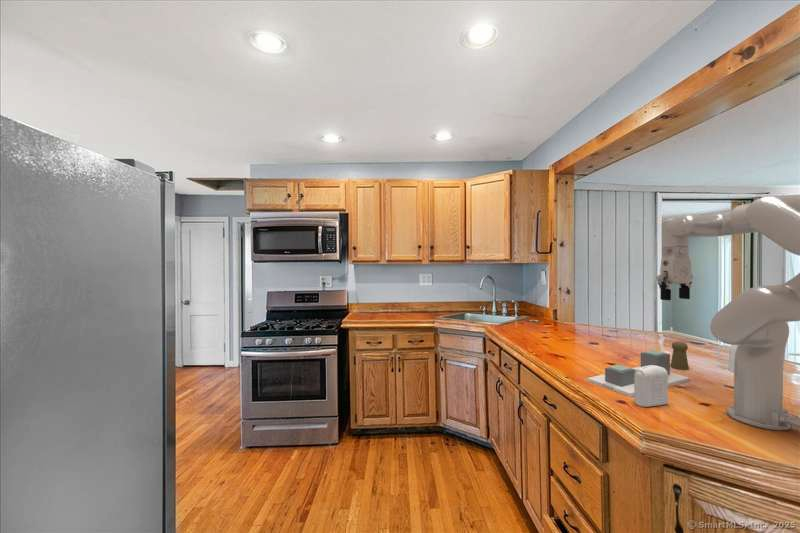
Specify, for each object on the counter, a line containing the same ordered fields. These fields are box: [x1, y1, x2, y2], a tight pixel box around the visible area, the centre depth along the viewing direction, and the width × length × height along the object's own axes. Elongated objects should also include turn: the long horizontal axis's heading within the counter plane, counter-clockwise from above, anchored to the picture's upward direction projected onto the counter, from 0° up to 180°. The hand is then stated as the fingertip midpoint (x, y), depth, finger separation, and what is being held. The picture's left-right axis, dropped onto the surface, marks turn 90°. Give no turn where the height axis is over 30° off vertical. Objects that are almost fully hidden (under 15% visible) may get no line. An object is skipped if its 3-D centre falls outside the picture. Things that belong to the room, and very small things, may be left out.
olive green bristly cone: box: [670, 341, 689, 371], centre depth 140 cm, size 6×6×11 cm
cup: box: [716, 344, 738, 374], centre depth 135 cm, size 8×12×10 cm
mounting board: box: [586, 350, 690, 398], centre depth 126 cm, size 16×35×10 cm, turn 113°
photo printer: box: [633, 365, 669, 408], centre depth 106 cm, size 10×4×12 cm, turn 103°
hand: (675, 299), depth 120 cm, fingers open, 9 cm apart
